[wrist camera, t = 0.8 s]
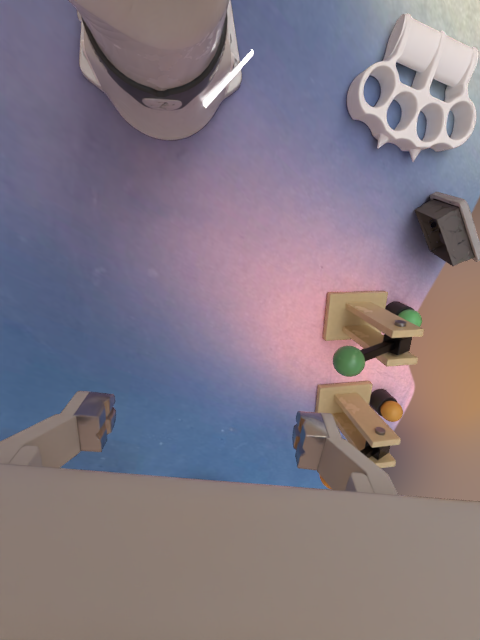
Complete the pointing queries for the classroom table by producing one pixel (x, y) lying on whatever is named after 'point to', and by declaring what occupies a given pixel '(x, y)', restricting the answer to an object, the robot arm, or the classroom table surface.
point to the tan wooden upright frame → (357, 417)
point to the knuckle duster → (419, 89)
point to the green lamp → (405, 312)
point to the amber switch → (368, 455)
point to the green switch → (367, 354)
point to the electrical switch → (449, 228)
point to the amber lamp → (386, 405)
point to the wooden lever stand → (367, 323)
